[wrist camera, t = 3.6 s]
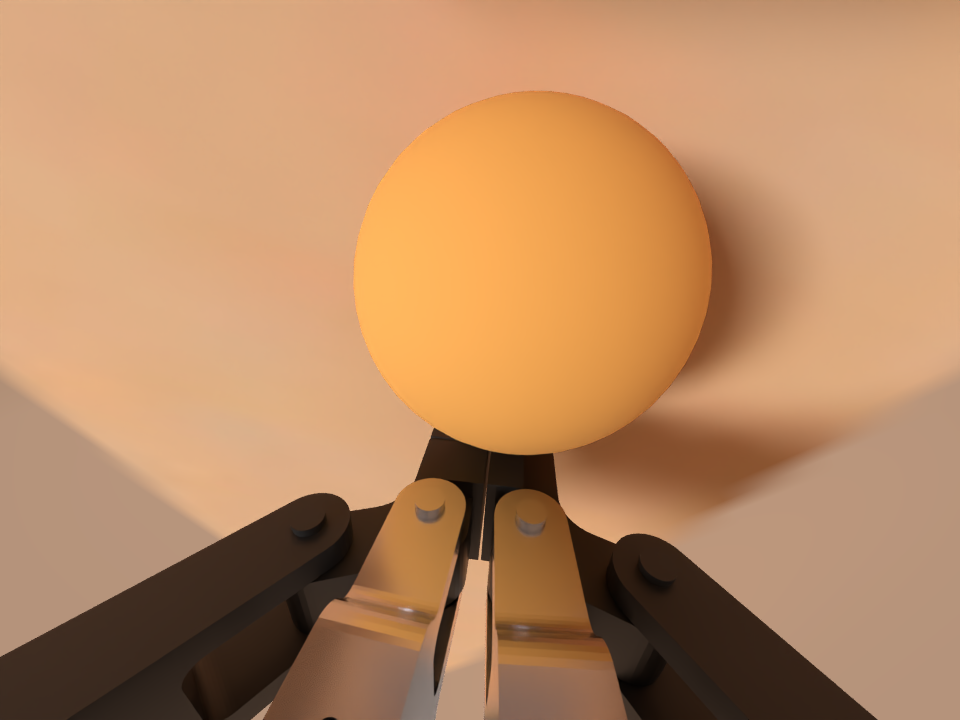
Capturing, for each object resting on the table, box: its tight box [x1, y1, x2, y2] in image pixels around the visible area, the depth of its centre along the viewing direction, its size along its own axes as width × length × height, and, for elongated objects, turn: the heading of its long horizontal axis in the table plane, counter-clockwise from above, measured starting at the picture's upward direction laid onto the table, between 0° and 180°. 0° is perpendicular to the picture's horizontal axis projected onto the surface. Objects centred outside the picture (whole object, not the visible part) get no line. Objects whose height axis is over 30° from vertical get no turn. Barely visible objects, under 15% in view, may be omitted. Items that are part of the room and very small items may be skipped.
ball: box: [354, 91, 712, 455], centre depth 7 cm, size 6×6×6 cm
